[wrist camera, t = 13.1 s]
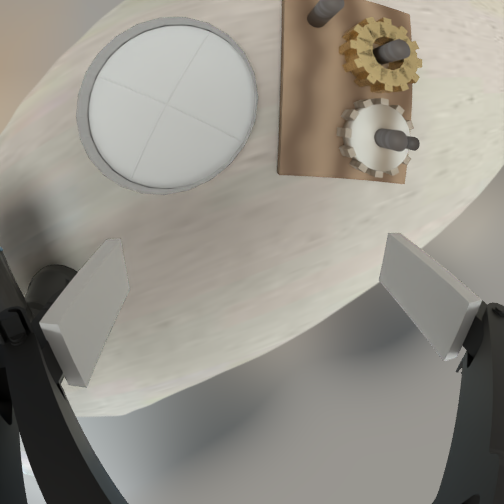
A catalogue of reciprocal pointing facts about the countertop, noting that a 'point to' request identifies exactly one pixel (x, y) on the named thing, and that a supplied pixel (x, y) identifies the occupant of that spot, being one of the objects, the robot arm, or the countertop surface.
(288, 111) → the gear board
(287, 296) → the countertop surface
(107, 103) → the dish
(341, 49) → the brass gear
